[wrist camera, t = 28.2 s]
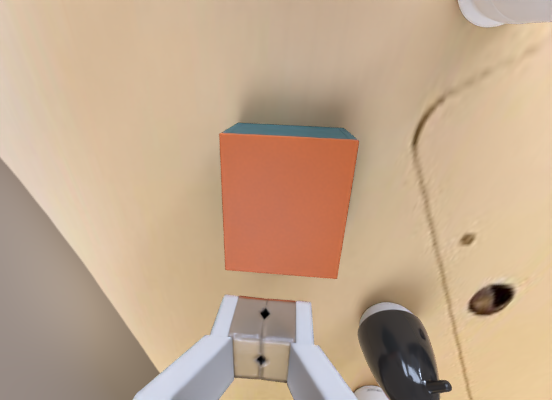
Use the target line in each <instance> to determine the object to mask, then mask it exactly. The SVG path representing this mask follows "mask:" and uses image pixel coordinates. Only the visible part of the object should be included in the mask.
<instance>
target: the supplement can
mask: <svg viewBox="0 0 552 400" xmlns="http://www.w3.org/2000/svg"><path fill="white" fill-rule="evenodd" d="M354 395H355V396H356V397H357V399H358V400H389V399H388V398H387V396H386V395H385V393H384V392H383V390H382V389H381V387H378V386H364V387H361V388H359V389H357V390H356V391H355V392H354Z"/></svg>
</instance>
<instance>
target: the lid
mask: <svg viewBox="0 0 552 400" xmlns="http://www.w3.org/2000/svg"><path fill="white" fill-rule="evenodd" d="M219 137H220V159H221V182H222V204H223V227H224V250H225V270H232V271H245V272H257V273H270V274H282V275H295V276H307V277H320V278H332V279H337V275H338V269H339V263H340V256H341V250H342V244H343V238H344V232H345V226H346V220H347V213H348V207H349V201H350V195H351V189H352V183H353V176H354V170H355V164H356V158H357V152H358V146H359V141H358V140H354V139H335V138H315V137H296V136H276V135H257V134H237V133H220V134H219Z"/></svg>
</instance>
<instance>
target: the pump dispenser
mask: <svg viewBox="0 0 552 400" xmlns="http://www.w3.org/2000/svg"><path fill="white" fill-rule="evenodd" d="M358 340H359V343H360V347H361V349H362V352H363V354H364V357H365V359H366V361H367V364H368V366H369V368H370V370H371V372H372V374H373V376H374V377H375V379H376V381H377V382H378V384H379V386H380V387H381V389H382V390H383V392H384V393H385V395H386V396H387V398H388V399H389V400H440V393H444V392H449V391H451V390H452V387H451V384H450V383H449V382H448V381H446V380H439V376H438V370H437V364H436V360H435V355H434V352H433V348H432V345H431V342H430V340H429V337H428V334H427V332H426V329H425V327H424V325H423V324H422V322H421V321H420V319H419V318H418V317H416V316H415V315H413V314H412V313H411V312H410V311H409V310H408V309H406V308H405V307H403V306H401V305H398V304H395V303H390V302H383V303H378V304H375V305H373V306H371V307H369V308H368V309H367V310H366V311H365V312H364V314H363V315H362V317H361V320H360V324H359V329H358Z"/></svg>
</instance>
